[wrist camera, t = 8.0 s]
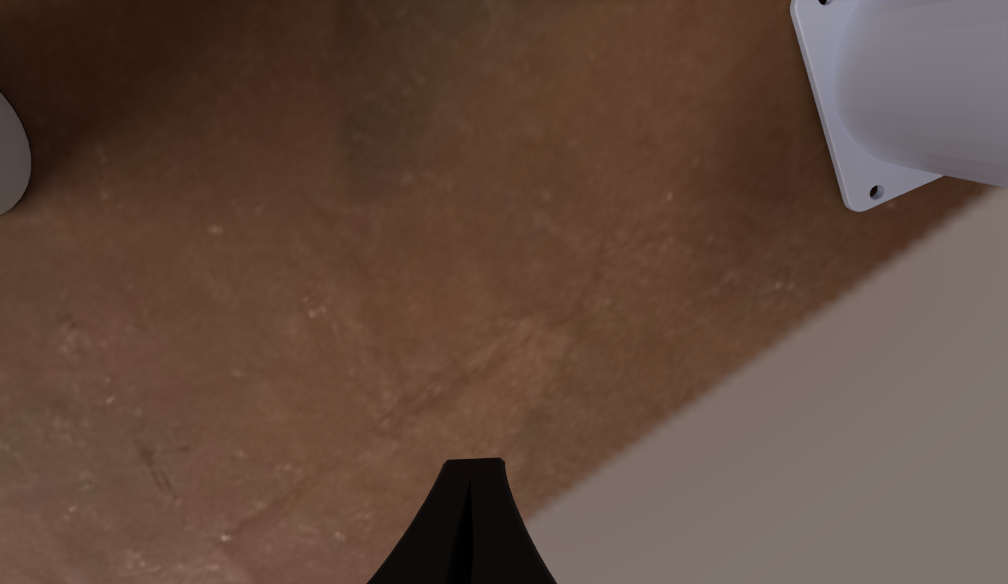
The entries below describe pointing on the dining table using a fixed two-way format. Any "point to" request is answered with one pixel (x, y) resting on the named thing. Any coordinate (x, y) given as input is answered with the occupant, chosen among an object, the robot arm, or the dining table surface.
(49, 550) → the dining table surface
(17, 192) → the coffee cup
